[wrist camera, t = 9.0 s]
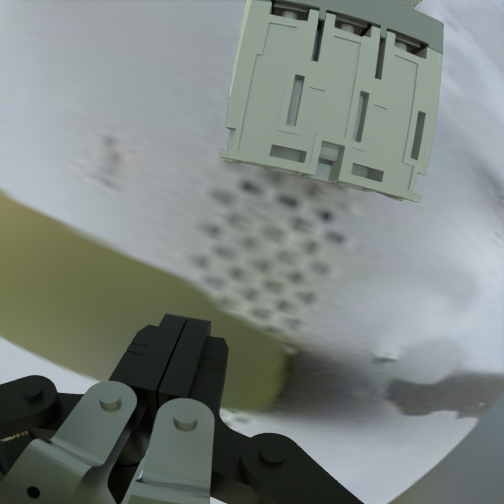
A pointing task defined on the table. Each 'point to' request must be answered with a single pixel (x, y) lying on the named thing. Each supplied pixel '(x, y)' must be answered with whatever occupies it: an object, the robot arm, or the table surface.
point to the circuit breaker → (338, 92)
